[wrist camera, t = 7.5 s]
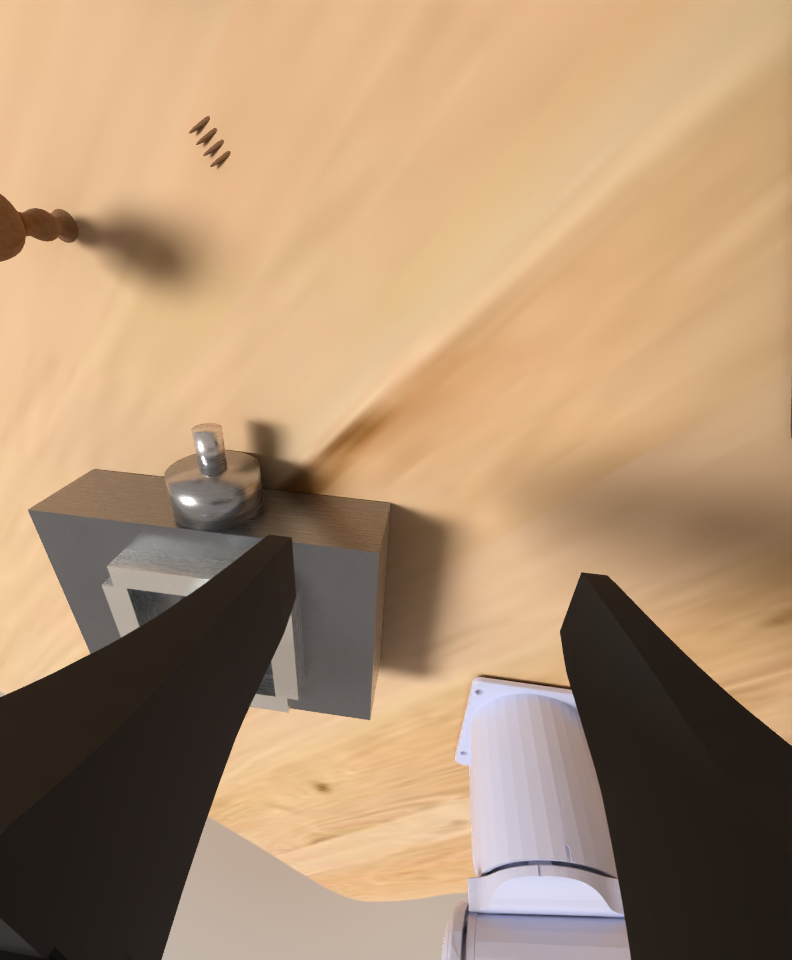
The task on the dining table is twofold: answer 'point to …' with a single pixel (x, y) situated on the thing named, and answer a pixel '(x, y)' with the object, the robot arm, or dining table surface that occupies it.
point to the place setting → (56, 216)
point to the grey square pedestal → (227, 564)
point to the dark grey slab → (791, 417)
